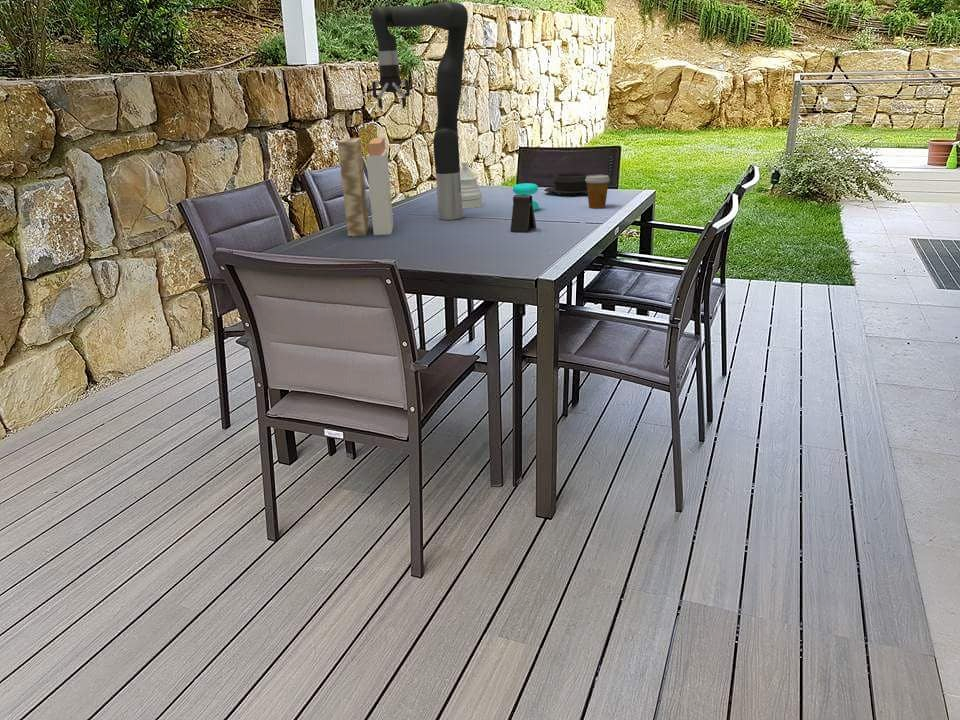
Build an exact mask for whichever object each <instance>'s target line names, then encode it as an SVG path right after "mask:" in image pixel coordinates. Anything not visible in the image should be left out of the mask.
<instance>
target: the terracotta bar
mask: <svg viewBox="0 0 960 720" xmlns="http://www.w3.org/2000/svg"><path fill="white" fill-rule="evenodd" d="M367 147H368V154H369V156H379V155H382V153H383V152H384V151H386V138H385V137H374V138H372V139H371V140H370V141H369V142H368V144H367Z"/></svg>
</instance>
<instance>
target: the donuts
mask: <svg viewBox="0 0 960 720" xmlns="http://www.w3.org/2000/svg"><path fill="white" fill-rule="evenodd" d="M512 191H513V193H514V194H515V195H533V194H536V193H537V192H538V191H539V186H538V185H537V184H536V183H530V182H529V183H528V182H527V183H525V182H524V183H518V184H517V183H516V184H515V185H513V187H512ZM532 204H533V210H534V212H535V211H537V210H538V209H539V203H538V202H537V201H535V200H532Z"/></svg>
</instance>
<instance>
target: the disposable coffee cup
mask: <svg viewBox="0 0 960 720" xmlns="http://www.w3.org/2000/svg"><path fill="white" fill-rule="evenodd" d="M585 181H586V184H587V193H586V194H587V199H588V207H589V208H590V209H594V210H595V209H604V208H605V207H606V203H607V195H608V188H609V182H610V181H611V180H610V177H609V175H607V174H589V176H586V179H585Z"/></svg>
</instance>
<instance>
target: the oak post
mask: <svg viewBox="0 0 960 720" xmlns="http://www.w3.org/2000/svg"><path fill="white" fill-rule="evenodd" d="M337 147H338V149H337V150H338V158H339V165H340V166H339V167H340V174H341V185H342V193H343V200H344V201H343V202H344V209H345V220H346V229H347V237H349V236H352V237H365V236H366V235H367V233H368V230H369V229H370V220H369V209H368V200H367V191H366V190H367V189H366V182H365V181H366V180H365V171H364V161H363V159H364V158H363V150H362V140H361V137H351V138H349V137H348V138H342V139H341V140H340V141H338V142H337Z"/></svg>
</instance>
